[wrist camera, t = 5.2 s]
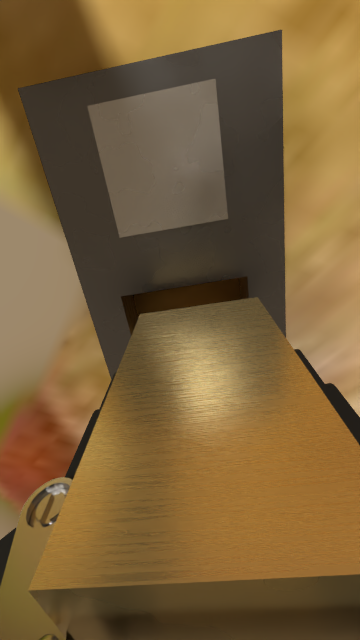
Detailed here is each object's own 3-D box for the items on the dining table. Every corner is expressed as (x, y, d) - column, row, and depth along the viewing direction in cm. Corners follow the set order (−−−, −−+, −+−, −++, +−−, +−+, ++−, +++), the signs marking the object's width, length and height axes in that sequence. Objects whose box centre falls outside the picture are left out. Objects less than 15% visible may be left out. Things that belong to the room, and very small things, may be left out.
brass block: (257, 297, 11) (446, 570, 3) (262, 392, 13) (382, 709, 5) (140, 313, 12) (28, 590, 3) (162, 403, 14) (124, 711, 6)
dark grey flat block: (262, 62, 12) (282, 27, 10) (276, 451, 21) (287, 482, 19) (47, 109, 13) (16, 87, 10) (152, 464, 22) (148, 496, 20)
